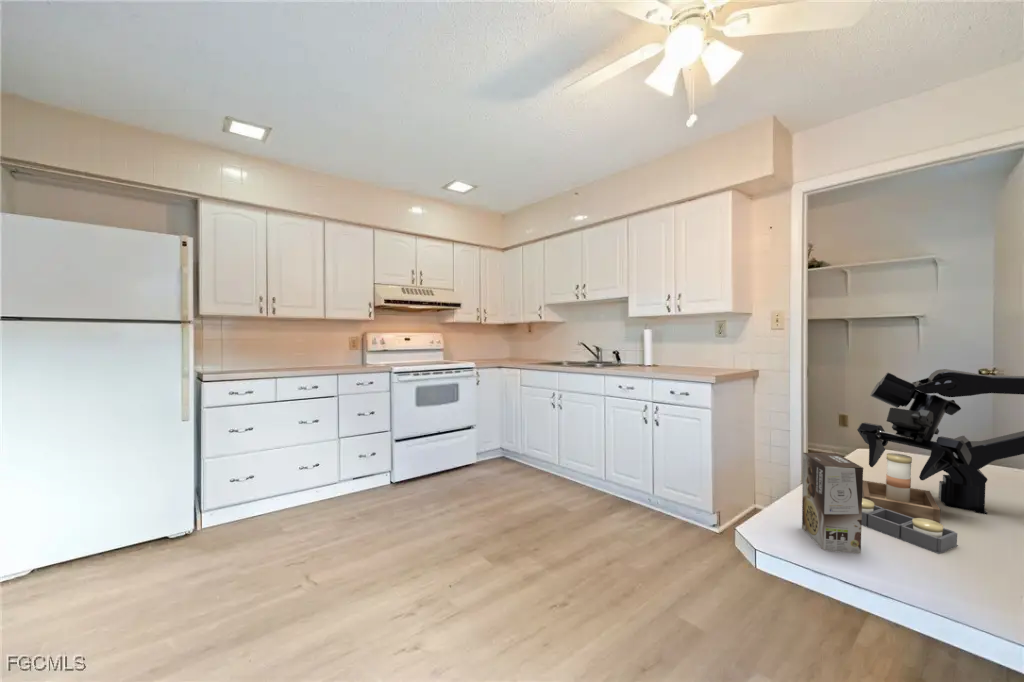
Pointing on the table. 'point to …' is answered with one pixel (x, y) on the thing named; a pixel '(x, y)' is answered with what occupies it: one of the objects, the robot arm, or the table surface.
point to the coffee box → (832, 501)
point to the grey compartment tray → (907, 530)
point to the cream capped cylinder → (898, 477)
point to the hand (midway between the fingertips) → (894, 472)
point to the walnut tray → (917, 508)
